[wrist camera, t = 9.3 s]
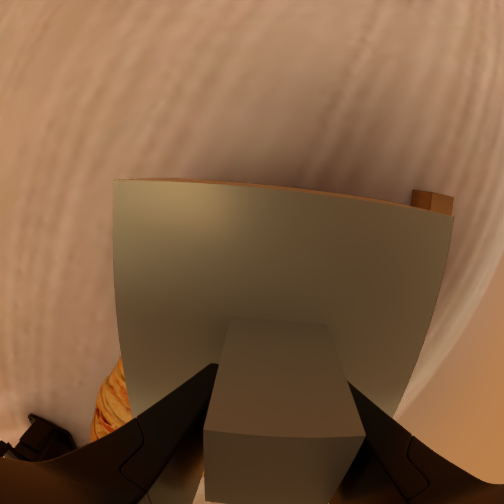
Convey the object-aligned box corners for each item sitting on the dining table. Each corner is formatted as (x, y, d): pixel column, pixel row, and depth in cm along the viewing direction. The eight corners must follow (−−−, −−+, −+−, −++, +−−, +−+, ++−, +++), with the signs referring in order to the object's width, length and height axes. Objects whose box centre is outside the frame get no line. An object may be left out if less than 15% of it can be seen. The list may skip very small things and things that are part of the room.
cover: (347, 378, 16) (397, 534, 6) (171, 363, 16) (100, 516, 6) (385, 200, 13) (562, 250, 3) (173, 178, 14) (-2, 189, 4)
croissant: (136, 302, 23) (49, 326, 16) (239, 359, 18) (141, 420, 11) (144, 459, 28) (94, 489, 21) (211, 507, 23) (162, 549, 16)
